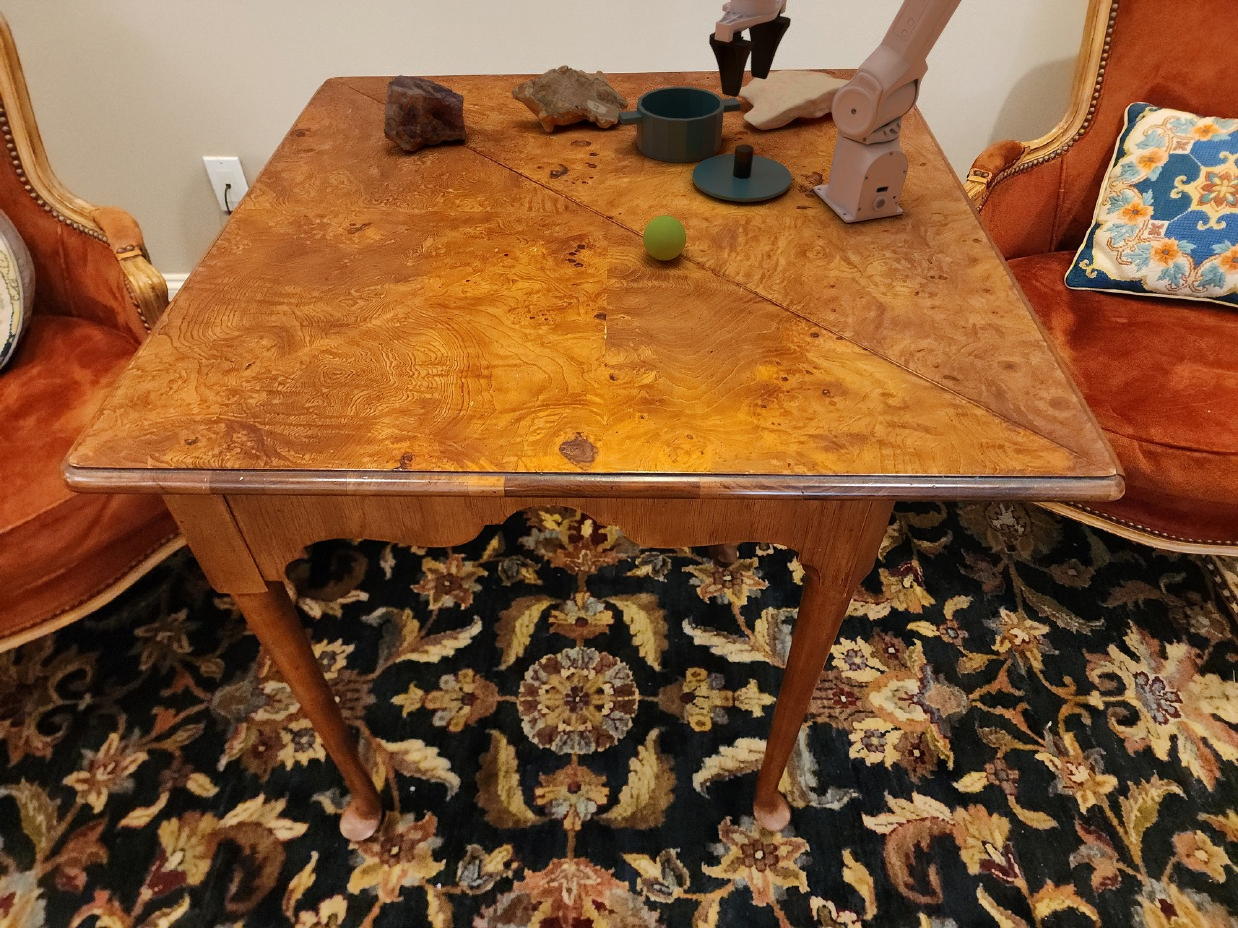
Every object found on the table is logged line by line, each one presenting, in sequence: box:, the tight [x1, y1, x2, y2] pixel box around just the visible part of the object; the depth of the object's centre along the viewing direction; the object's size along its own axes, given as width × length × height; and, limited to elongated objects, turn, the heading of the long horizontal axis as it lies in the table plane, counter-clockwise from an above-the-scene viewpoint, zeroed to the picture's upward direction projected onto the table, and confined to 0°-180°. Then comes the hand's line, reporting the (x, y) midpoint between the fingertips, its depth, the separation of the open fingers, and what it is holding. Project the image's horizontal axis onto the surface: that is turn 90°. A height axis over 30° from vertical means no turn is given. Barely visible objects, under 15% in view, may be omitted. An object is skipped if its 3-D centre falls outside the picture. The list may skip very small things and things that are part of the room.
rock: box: [383, 74, 467, 152], centre depth 110 cm, size 12×9×10 cm
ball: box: [642, 214, 687, 262], centre depth 88 cm, size 5×5×5 cm
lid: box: [691, 143, 793, 203], centre depth 101 cm, size 13×13×5 cm
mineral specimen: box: [511, 64, 629, 133], centre depth 115 cm, size 13×7×15 cm
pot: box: [618, 86, 742, 164], centre depth 109 cm, size 12×18×6 cm
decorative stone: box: [737, 69, 851, 131], centre depth 118 cm, size 21×5×15 cm
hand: (745, 86), depth 101 cm, fingers open, 7 cm apart
